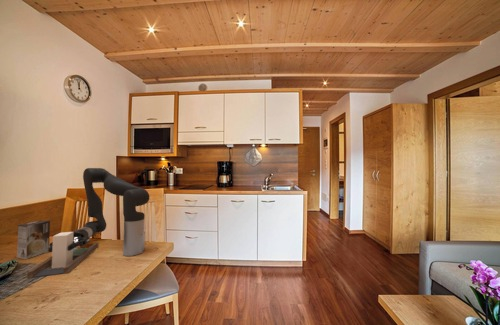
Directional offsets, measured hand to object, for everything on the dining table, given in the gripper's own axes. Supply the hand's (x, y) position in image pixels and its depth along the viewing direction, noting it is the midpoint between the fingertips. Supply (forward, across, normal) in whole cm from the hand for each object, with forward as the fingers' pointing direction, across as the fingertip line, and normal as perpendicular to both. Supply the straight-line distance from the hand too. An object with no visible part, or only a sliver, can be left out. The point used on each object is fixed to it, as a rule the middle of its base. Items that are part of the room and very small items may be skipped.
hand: (59, 249), depth 85 cm
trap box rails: (-7, 0, +8) cm, 11 cm away
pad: (-16, 0, +8) cm, 18 cm away
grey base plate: (-2, 0, +8) cm, 8 cm away
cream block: (-2, 0, +8) cm, 8 cm away
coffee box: (-18, -20, +8) cm, 28 cm away
